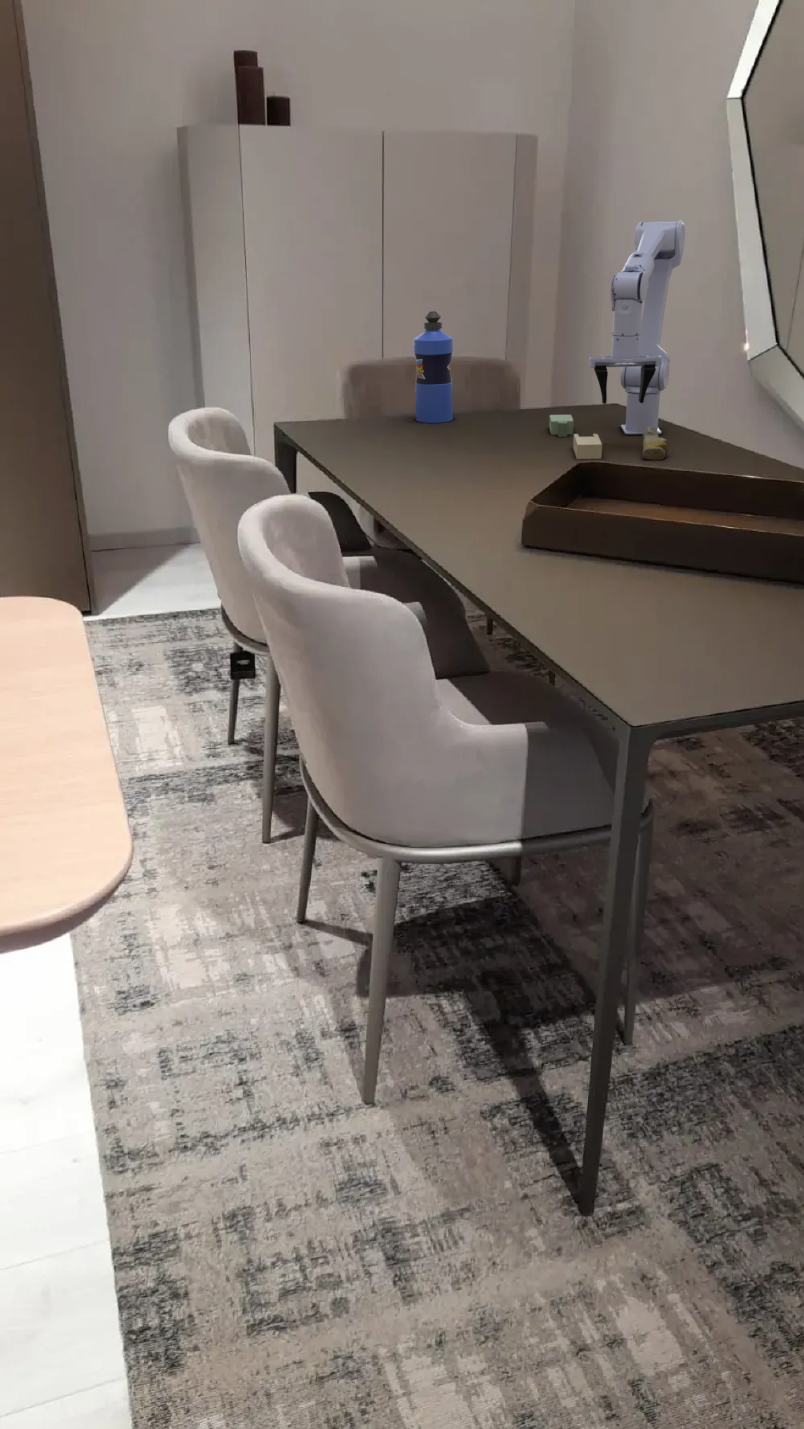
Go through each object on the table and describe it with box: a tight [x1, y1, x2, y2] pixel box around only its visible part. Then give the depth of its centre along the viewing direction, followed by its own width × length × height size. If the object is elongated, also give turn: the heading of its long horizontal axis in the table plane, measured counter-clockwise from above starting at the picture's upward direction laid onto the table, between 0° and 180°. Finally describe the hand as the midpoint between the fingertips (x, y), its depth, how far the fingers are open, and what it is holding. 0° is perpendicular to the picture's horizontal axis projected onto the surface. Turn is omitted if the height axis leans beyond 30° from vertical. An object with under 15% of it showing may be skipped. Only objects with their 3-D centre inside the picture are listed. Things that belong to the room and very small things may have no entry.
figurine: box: [641, 427, 670, 461], centre depth 229 cm, size 5×5×15 cm
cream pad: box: [572, 433, 603, 460], centre depth 230 cm, size 11×5×3 cm, turn 176°
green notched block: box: [548, 414, 575, 438], centre depth 252 cm, size 10×5×3 cm, turn 176°
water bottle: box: [413, 310, 454, 424], centre depth 266 cm, size 9×9×25 cm
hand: (622, 402), depth 232 cm, fingers open, 7 cm apart
